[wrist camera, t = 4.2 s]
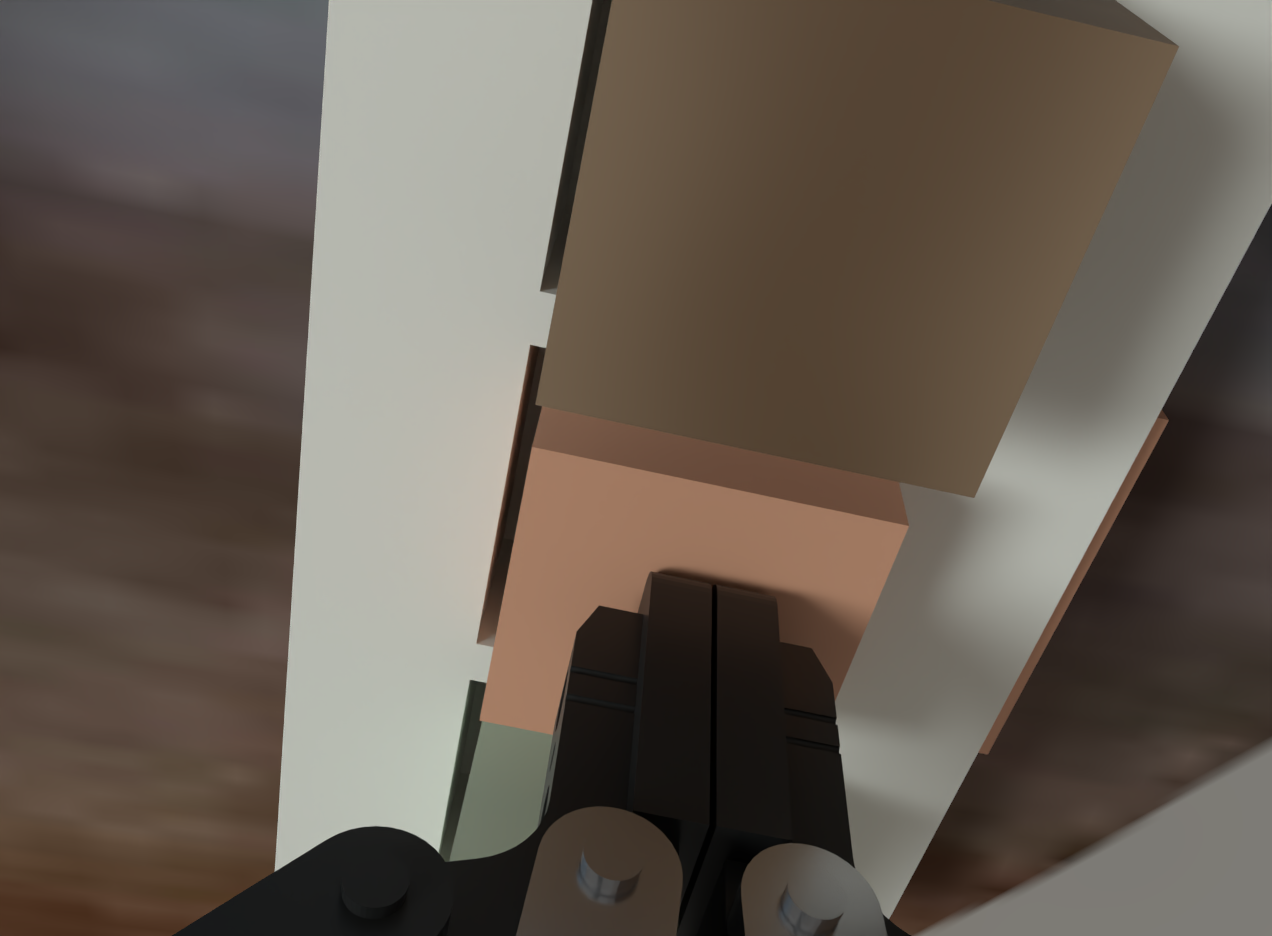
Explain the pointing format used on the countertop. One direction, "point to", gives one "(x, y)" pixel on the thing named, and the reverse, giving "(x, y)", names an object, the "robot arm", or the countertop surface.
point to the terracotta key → (679, 546)
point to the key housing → (507, 415)
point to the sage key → (502, 791)
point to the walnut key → (840, 219)
